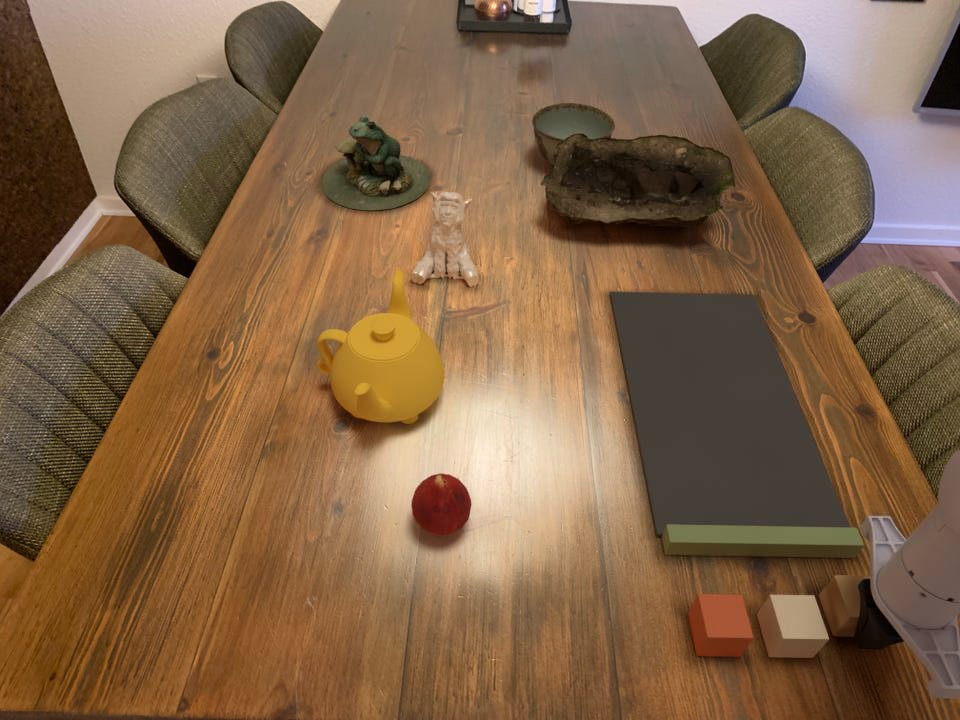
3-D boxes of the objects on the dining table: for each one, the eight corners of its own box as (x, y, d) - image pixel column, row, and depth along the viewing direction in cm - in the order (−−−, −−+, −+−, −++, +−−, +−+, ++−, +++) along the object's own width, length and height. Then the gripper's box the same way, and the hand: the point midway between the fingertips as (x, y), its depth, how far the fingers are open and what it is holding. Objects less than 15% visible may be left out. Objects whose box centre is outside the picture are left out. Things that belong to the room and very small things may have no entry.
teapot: (343, 331, 92) (332, 260, 84) (456, 343, 91) (456, 272, 83) (295, 454, 78) (277, 383, 70) (429, 470, 77) (425, 400, 69)
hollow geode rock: (709, 253, 114) (725, 160, 113) (729, 242, 101) (748, 136, 100) (535, 227, 116) (551, 135, 116) (534, 212, 103) (552, 109, 103)
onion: (481, 517, 73) (483, 471, 67) (449, 560, 69) (449, 516, 64) (434, 491, 75) (432, 445, 69) (402, 532, 71) (397, 486, 66)
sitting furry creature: (410, 285, 99) (406, 212, 90) (416, 248, 105) (412, 176, 96) (478, 288, 99) (480, 215, 90) (480, 251, 105) (482, 179, 96)
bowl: (613, 152, 126) (620, 109, 121) (601, 191, 117) (609, 146, 112) (538, 140, 129) (542, 97, 123) (521, 177, 120) (524, 133, 114)
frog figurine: (302, 173, 119) (291, 107, 110) (394, 143, 127) (390, 79, 118) (355, 224, 109) (347, 155, 101) (451, 188, 117) (451, 122, 108)
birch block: (876, 637, 65) (895, 617, 62) (832, 636, 65) (850, 617, 62) (859, 596, 68) (877, 575, 65) (818, 595, 68) (834, 574, 65)
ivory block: (812, 658, 64) (829, 639, 61) (768, 657, 63) (783, 638, 61) (799, 615, 66) (814, 595, 64) (756, 614, 66) (769, 594, 63)
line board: (859, 558, 71) (870, 545, 69) (659, 555, 70) (665, 541, 69) (752, 297, 99) (758, 283, 97) (609, 294, 99) (612, 280, 97)
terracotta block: (740, 657, 63) (754, 638, 61) (696, 656, 63) (707, 637, 61) (729, 614, 66) (742, 594, 63) (687, 613, 66) (697, 593, 63)
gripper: (1048, 665, 48) (949, 731, 58) (950, 487, 58) (879, 568, 68) (945, 664, 48) (863, 730, 58) (865, 485, 58) (806, 567, 68)
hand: (867, 642), depth 63 cm, fingers closed
